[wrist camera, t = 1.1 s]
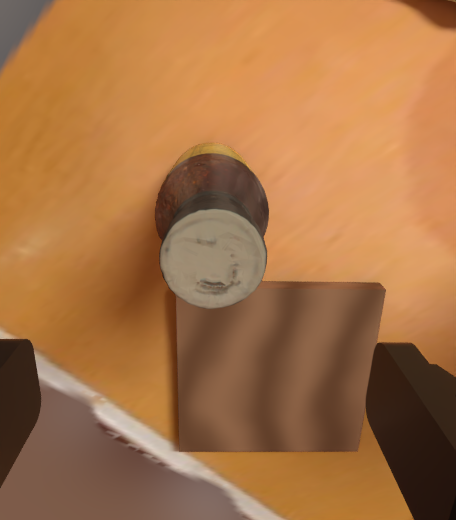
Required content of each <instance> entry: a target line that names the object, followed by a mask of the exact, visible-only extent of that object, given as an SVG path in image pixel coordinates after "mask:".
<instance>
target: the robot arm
mask: <svg viewBox="0 0 456 520" xmlns="http://www.w3.org/2000/svg"><path fill="white" fill-rule="evenodd" d="M40 407H41V392H40V386H39V380H38V374H37V368H36V362H35V355H34V349H33V346H32V343H31V342H30V340H28V339H0V488H1V486H2V484H3V482H4V480H5V479H6V477H7V475H8V473H9V471H10V469H11V468H12V466H13V464H14V462H15V460H16V458H17V457H18V455H19V453H20V451H21V449H22V448H23V445H24V444H25V442H26V440H27V439H28V437H29V435H30V433H31V431H32V430H33V428H34V426H35V424H36V422H37V419H38V416H39V413H40ZM366 413H367V418H368V421H369V424H370V426H371V429H372V431H373V433H374V435H375V437H376V439H377V441H378V444H379V446H380V448H381V450H382V452H383V454H384V456H385V458H386V461H387V463H388V465H389V467H390V469H391V471H392V473H393V475H394V478H395V480H396V482H397V484H398V486H399V488H400V490H401V493H402V495H403V497H404V499H405V501H406V503H407V505H408V507H409V510H410V512H411V514H412V516H413V518H414V520H456V377H454V376H453V375H451V374H450V373H448V372H447V371H445V370H444V369H442V368H441V367H439V366H438V365H436V364H429V363H428V361H427V360H426V359H425V358H424V356H423V355H422V354H421V353H420V351H419V350H418V349H417V348H416V346H415V345H414V344H412V343H377V345H376V346H375V349H374V352H373V358H372V364H371V370H370V376H369V381H368V387H367V393H366Z"/></svg>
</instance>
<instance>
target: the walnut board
mask: <svg viewBox="0 0 456 520" xmlns="http://www.w3.org/2000/svg"><path fill="white" fill-rule="evenodd" d="M385 292H386V290H385V288H384V287H383V286H382V285H381V284H380V283H358V282H276V281H261V283H260V284H259V286H258V287H257V288H256V290H255V291H254V292H252V293H251V294H250V295H249V296H248V297H247V298H246V299H244V300H242V301H241V302H238V303H236V304H234V305H231V306H227V307H224V308H216V309H205V308H199V307H197V306H194V305H191V304H188V303H186V302H185V301H184V300H182V299H181V298H179V297H177V296H176V321H177V367H178V412H179V452H338V451H358V448H359V442H360V436H361V430H362V425H363V419H364V413H365V407H366V393H367V387H368V381H369V376H370V370H371V364H372V358H373V352H374V349H375V346H376V344H377V338H378V332H379V327H380V321H381V315H382V309H383V303H384V298H385Z"/></svg>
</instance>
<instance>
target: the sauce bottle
mask: <svg viewBox="0 0 456 520" xmlns="http://www.w3.org/2000/svg"><path fill="white" fill-rule="evenodd" d="M268 218H269V208H268V201H267V197H266V194H265V191H264V189H263V187H262V185H261V183H260V181H259V180H258V178H257V177H256V175H255V174H254V173H253V172H252V170H251V169H250V167H249V166H248V164H247V163H246V162H245V160H244V159H243V158H242V157H241V156H240V155H239V154H238V153H237V152H236V151H235V150H233V149H232V148H230V147H228V146H226V145H223V144H220V143H204V144H199V145H197V146H194V147H192V148H191V149H189V150H188V151H186V152H185V153H184V154H183V155H182V156H181V157H180V158H179V159H178V161H177V162H176V163H175V165H174V166H173V168H172V169H171V171H170V172H169V174H168V175H167V177H166V179H165V181H164V182H163V184H162V186H161V189H160V192H159V193H158V199H157V201H156V208H155V220H156V227H157V231H158V234H159V237H160V238H161V239H162V244H161V248H160V253H159V261H160V268H161V271H162V274H163V278H164V279H165V281H166V283H167V284H168V286H169V288H170V289H171V290H172V291H173V292H174V293H175V294H176V296H177V297H179V298H181V299H182V300H184V301H185V302H186V303H188V304H191V305H194V306H197V307H199V308H205V309H216V308H224V307H227V306H231V305H234V304H236V303H238V302H241V301H242V300H244V299H246V298H247V297H248V296H249V295H250V294H251V293H252V292H254V291H255V290H256V288H257V287H258V286H259V284H260V283H261V281H262V278H263V275H264V273H265V268H266V263H267V249H266V245H265V241H264V238H263V237H264V235H265V232H266V229H267V225H268Z"/></svg>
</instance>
